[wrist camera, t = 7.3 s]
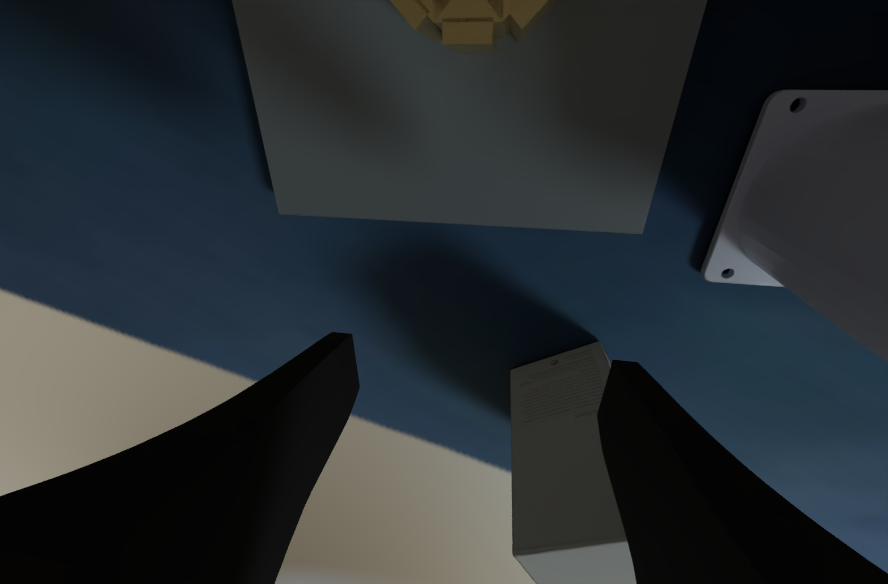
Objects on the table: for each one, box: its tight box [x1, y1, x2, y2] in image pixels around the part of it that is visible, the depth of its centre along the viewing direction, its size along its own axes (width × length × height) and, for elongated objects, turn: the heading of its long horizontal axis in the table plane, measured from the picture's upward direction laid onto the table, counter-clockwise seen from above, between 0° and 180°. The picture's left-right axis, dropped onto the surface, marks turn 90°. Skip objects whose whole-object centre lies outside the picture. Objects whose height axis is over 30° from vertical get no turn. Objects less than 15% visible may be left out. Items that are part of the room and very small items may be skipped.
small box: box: [510, 342, 637, 584], centre depth 19 cm, size 8×6×10 cm
